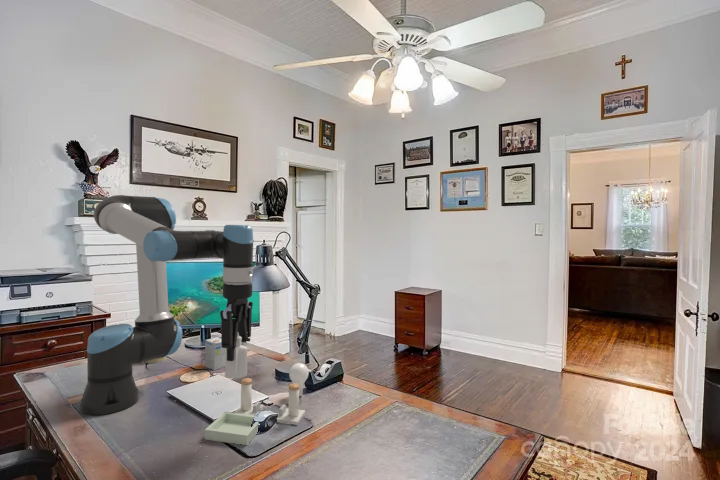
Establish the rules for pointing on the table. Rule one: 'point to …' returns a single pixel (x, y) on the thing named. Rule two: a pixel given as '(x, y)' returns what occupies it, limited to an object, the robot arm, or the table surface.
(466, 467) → the table surface
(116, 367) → the robot arm
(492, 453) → the table surface
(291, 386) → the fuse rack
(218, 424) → the tray
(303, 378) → the lightbulb
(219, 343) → the light bulb box
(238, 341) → the eye dropper bottle
